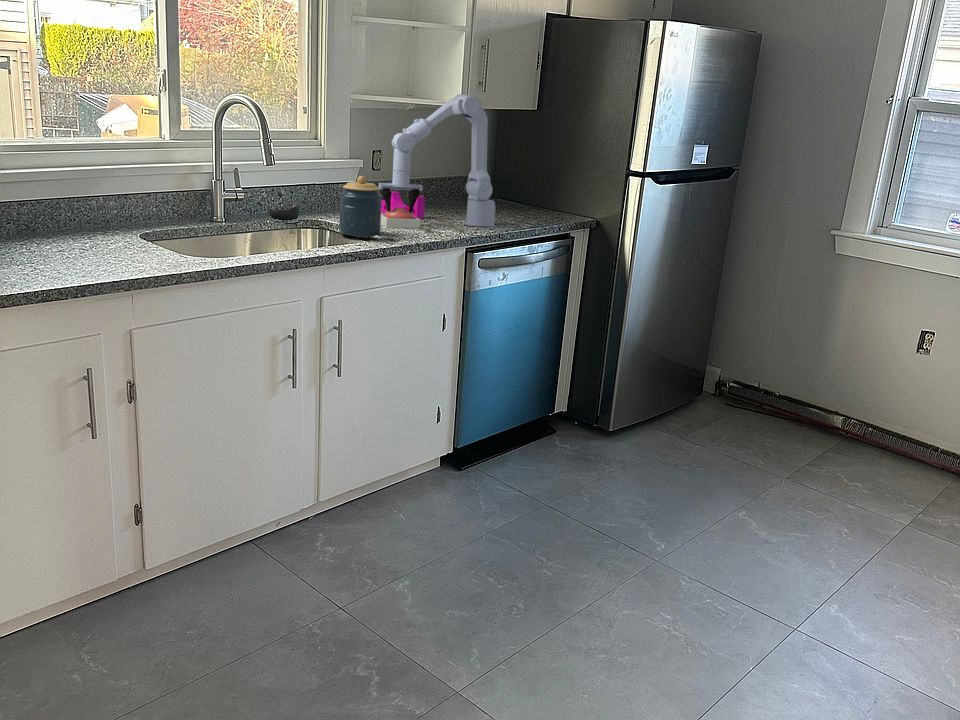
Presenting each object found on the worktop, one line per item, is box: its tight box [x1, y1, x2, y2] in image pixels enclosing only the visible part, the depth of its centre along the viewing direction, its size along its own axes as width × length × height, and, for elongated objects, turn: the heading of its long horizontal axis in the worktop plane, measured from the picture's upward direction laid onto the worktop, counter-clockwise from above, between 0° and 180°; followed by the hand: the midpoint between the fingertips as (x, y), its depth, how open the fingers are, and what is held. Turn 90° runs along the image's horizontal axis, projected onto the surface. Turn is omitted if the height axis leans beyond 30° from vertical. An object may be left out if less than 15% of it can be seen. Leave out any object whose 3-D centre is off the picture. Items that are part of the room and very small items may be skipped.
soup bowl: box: [267, 204, 301, 225], centre depth 296 cm, size 15×16×7 cm
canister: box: [338, 175, 383, 237], centre depth 270 cm, size 13×13×18 cm
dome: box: [386, 207, 413, 219], centre depth 294 cm, size 9×9×6 cm
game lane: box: [420, 215, 465, 233], centre depth 304 cm, size 13×34×1 cm, turn 20°
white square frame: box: [381, 213, 422, 230], centre depth 295 cm, size 12×12×3 cm
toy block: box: [380, 190, 426, 219], centre depth 312 cm, size 15×6×8 cm, turn 51°
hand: (399, 212), depth 294 cm, fingers open, 7 cm apart
